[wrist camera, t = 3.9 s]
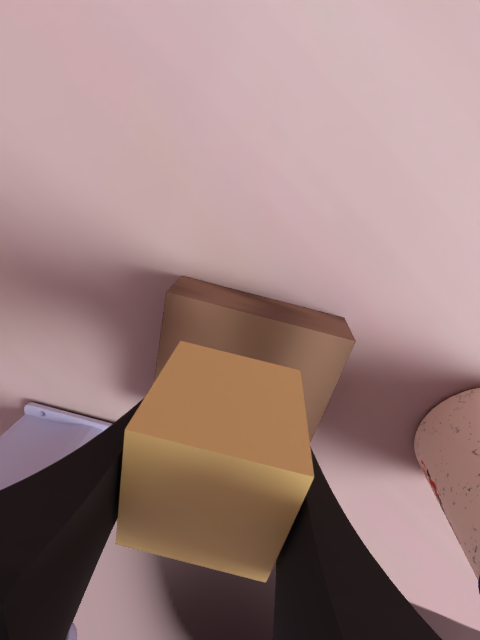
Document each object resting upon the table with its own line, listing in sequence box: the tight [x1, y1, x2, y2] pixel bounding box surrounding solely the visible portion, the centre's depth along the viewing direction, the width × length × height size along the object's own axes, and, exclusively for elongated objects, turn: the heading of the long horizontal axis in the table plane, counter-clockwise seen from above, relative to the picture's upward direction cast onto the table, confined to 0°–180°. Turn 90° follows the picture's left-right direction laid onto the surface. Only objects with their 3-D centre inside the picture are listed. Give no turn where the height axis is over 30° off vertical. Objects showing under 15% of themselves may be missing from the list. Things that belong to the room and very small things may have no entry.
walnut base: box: [154, 276, 356, 442], centre depth 19 cm, size 10×10×3 cm
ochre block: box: [116, 341, 314, 582], centre depth 11 cm, size 5×5×5 cm
